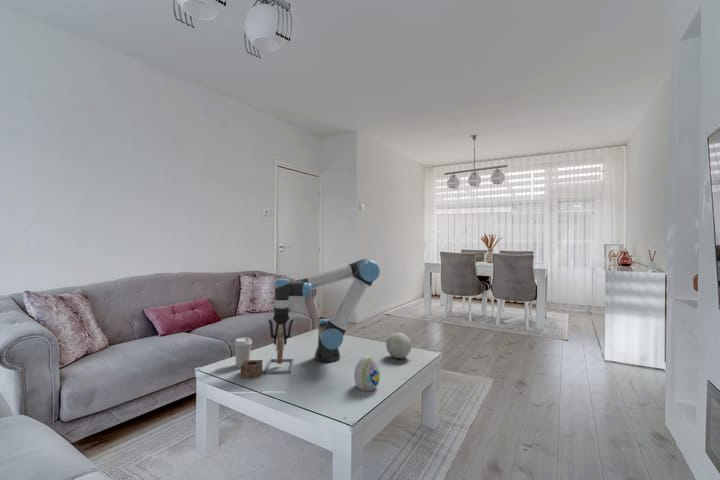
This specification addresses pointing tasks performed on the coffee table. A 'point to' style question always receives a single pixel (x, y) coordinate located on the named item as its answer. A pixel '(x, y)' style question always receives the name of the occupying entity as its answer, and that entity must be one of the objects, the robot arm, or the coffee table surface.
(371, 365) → the decorative egg
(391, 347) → the decorative sphere
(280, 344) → the dowel
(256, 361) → the cup block
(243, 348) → the coffee cup
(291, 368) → the gray rectangular frame
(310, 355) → the coffee table surface
